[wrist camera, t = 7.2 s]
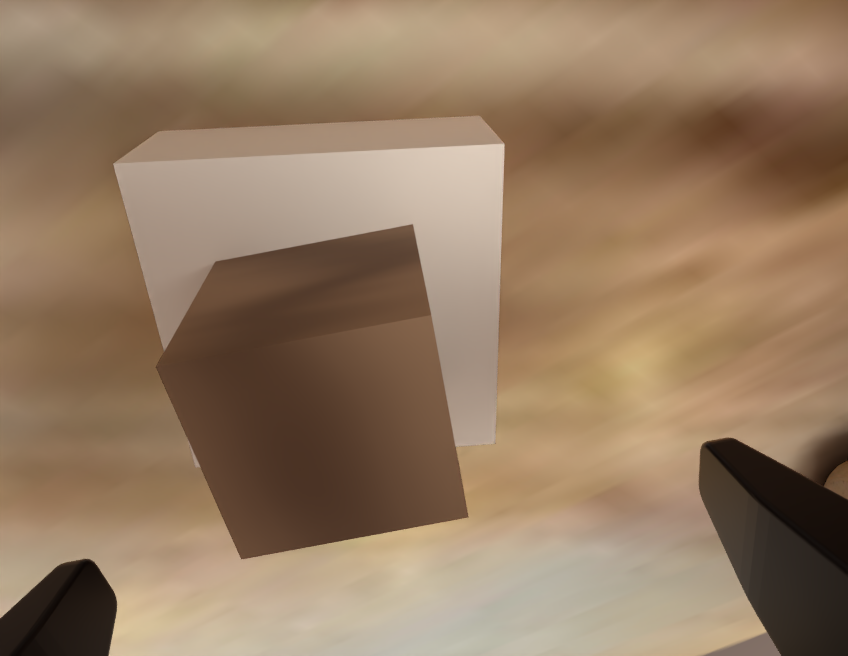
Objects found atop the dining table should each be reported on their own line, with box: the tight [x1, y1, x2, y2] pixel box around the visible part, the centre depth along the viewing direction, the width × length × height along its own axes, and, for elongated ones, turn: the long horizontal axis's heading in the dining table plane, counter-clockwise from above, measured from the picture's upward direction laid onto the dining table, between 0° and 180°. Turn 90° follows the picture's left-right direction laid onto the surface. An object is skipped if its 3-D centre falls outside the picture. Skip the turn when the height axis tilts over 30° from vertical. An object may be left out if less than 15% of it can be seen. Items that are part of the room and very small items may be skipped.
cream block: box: [113, 116, 504, 467], centre depth 18 cm, size 9×9×4 cm
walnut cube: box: [156, 224, 468, 559], centre depth 15 cm, size 5×5×5 cm
